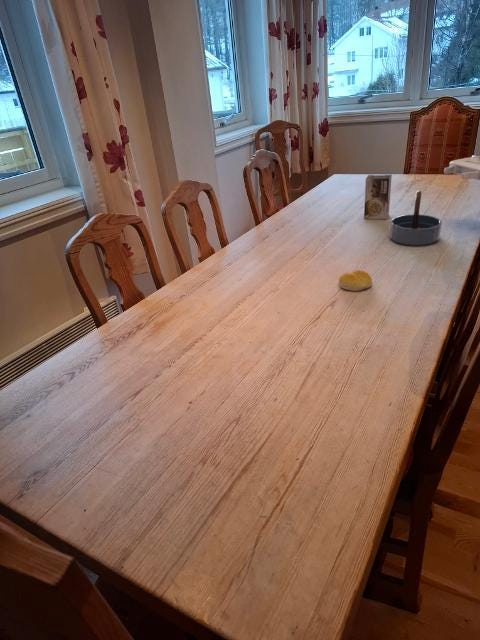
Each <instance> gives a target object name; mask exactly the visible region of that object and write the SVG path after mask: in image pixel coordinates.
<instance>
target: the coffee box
mask: <svg viewBox="0 0 480 640" xmlns="http://www.w3.org/2000/svg"><path fill="white" fill-rule="evenodd" d="M392 175H393V174H386V173H385V174H368V175H367V176H366V177H365V185H364V187H365V189H364V206H363V207H364V209H363V219H364V220H388V218H389V215H390V201H391V191H392V177H393V176H392Z"/></svg>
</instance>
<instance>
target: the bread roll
mask: <svg viewBox="0 0 480 640" xmlns="http://www.w3.org/2000/svg"><path fill="white" fill-rule="evenodd" d="M338 284H339V286H340V287H341V288H342V289H343V290H347V291H353V292H358V291H363V290H367V289H368V288H370V287H371V286H372V285H373V280H372V277H371V275H370V274H369V273H368V272H367V271H366V270H363V269H356V270H353V271H352V272H345V273H343V274H341V275H340V276H339V278H338Z"/></svg>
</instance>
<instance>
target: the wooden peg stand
mask: <svg viewBox="0 0 480 640" xmlns="http://www.w3.org/2000/svg"><path fill="white" fill-rule="evenodd" d="M421 199H422V191H421V190H417V191H416V193H415V200H414V210H413V214H414V217H413V226H412V227H408V228H410V229H423V228H420V227H417V226H418V217H419V215H420V209H421Z"/></svg>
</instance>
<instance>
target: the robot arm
mask: <svg viewBox="0 0 480 640" xmlns="http://www.w3.org/2000/svg"><path fill="white" fill-rule="evenodd" d="M448 165H449V166H448V167H444V169H443V174H446V175H448V174H454V175H458V176H461V178H462V179H463V180H469V179H471V180H477V181H480V154H474V155H472V156H471V157H464V158H459V159H454V160H451V161H450V162H449V164H448Z"/></svg>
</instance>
